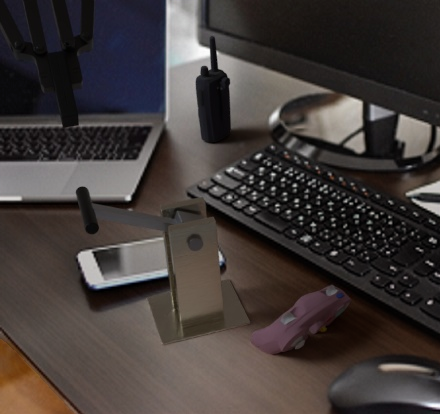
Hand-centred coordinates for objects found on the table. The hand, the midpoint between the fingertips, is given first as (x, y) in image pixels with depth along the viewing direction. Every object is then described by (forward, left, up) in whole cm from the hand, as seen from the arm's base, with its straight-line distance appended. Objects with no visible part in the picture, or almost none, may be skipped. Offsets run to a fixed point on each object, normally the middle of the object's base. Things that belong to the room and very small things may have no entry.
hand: (70, 121), depth 78 cm
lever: (+4, -6, -10) cm, 12 cm away
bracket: (+9, -6, -21) cm, 24 cm away
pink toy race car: (+18, -13, -22) cm, 31 cm away
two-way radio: (+22, +34, -22) cm, 46 cm away
